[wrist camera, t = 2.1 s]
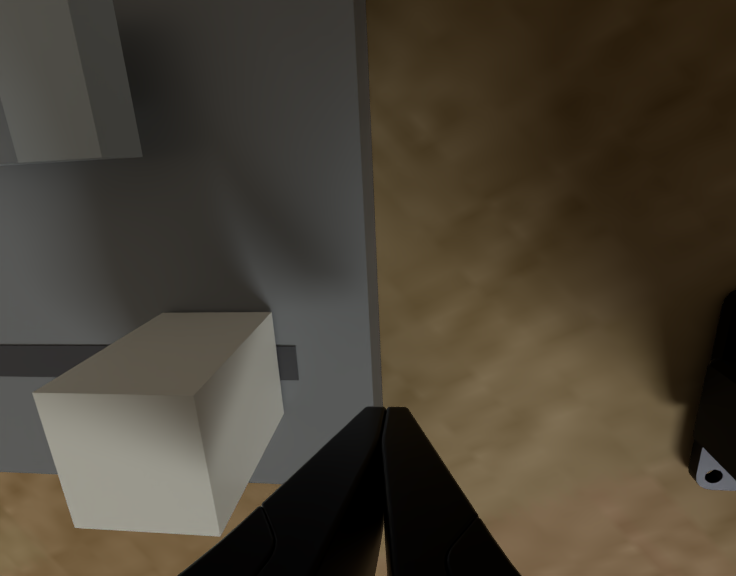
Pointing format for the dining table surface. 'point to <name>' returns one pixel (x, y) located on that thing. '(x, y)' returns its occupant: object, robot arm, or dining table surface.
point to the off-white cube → (165, 423)
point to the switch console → (209, 216)
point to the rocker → (63, 83)
